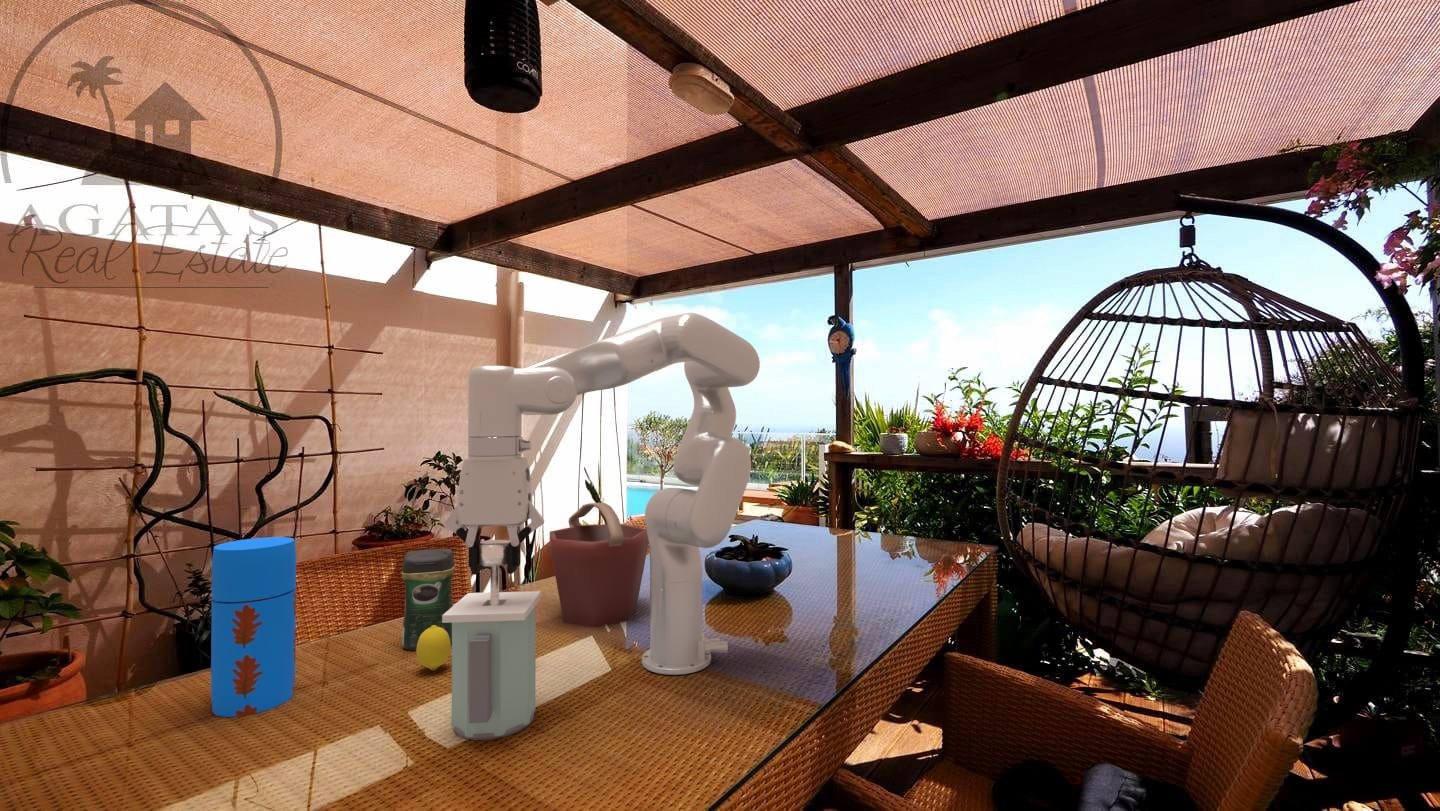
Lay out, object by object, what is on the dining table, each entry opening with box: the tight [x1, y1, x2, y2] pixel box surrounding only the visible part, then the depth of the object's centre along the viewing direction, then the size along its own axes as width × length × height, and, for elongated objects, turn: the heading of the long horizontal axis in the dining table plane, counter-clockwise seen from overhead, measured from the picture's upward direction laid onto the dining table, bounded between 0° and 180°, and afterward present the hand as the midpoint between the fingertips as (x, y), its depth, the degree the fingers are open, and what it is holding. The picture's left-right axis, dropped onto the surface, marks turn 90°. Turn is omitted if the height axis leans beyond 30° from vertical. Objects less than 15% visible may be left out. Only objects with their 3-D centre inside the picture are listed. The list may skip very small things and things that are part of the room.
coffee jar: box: [401, 548, 456, 650], centre depth 126 cm, size 10×8×19 cm
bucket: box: [549, 502, 649, 628], centre depth 144 cm, size 24×22×25 cm
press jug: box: [442, 590, 542, 741], centre depth 93 cm, size 14×11×17 cm
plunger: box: [479, 539, 510, 606], centre depth 94 cm, size 8×8×24 cm
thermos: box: [210, 536, 297, 718], centre depth 101 cm, size 11×11×25 cm
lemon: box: [415, 625, 452, 672], centre depth 112 cm, size 6×6×8 cm
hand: (494, 570), depth 94 cm, fingers closed on plunger, 4 cm apart
